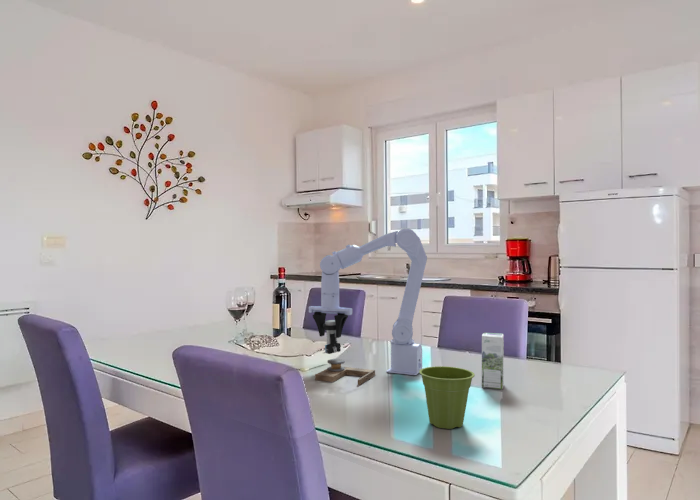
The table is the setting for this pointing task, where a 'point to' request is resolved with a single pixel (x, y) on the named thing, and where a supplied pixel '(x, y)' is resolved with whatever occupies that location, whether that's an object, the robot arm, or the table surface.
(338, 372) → the notched board
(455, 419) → the plant pot
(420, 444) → the table surface
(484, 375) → the syrup box
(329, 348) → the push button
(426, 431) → the table surface
